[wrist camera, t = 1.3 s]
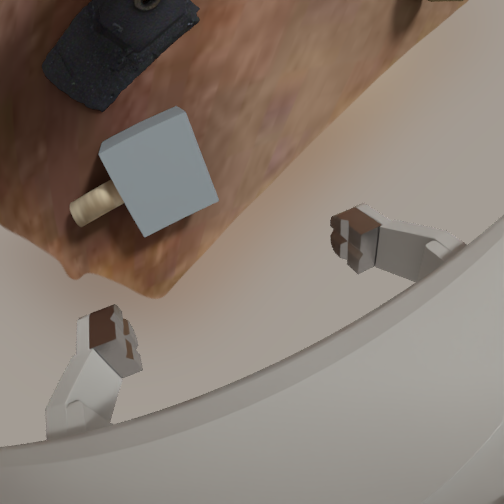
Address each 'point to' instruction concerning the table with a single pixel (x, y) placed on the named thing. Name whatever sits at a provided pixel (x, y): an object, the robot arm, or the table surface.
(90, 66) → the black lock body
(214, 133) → the table surface
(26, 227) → the table surface
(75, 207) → the dowel peg
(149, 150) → the socket block
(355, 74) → the table surface
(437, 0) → the squeeze bottle
